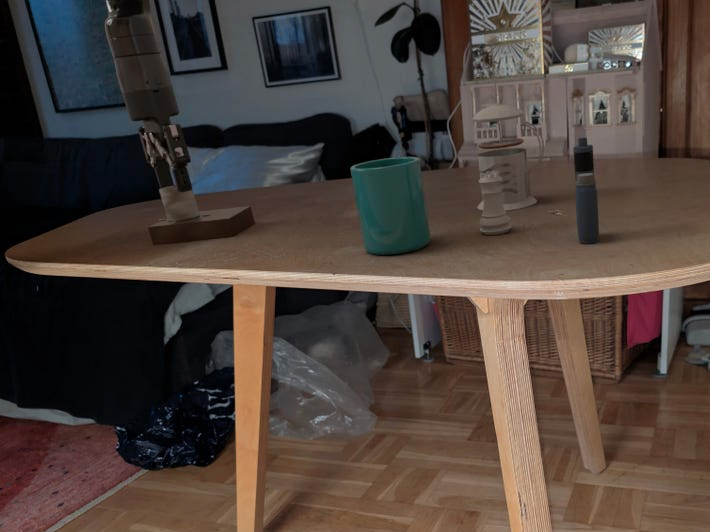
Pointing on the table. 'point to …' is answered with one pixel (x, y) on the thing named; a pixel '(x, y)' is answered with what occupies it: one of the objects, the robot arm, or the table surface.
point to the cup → (391, 205)
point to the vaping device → (586, 193)
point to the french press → (507, 153)
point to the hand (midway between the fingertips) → (176, 189)
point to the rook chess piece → (493, 206)
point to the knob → (179, 204)
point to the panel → (203, 226)
